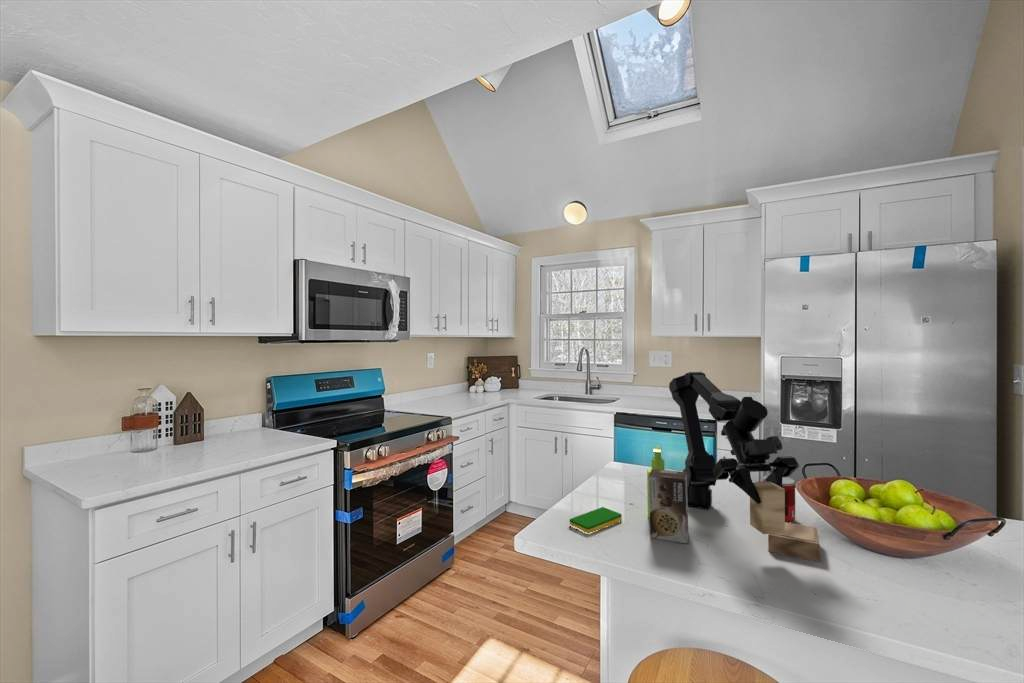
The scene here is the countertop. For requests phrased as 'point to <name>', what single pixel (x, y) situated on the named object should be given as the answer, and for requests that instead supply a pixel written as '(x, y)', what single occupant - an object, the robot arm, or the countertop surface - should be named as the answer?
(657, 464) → the soap dispenser
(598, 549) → the countertop surface
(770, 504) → the oak block
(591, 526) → the dish sponge
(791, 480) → the canned food
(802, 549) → the light wood flat block
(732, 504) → the countertop surface
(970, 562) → the countertop surface
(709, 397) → the robot arm
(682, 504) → the printed cardboard box
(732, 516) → the countertop surface
